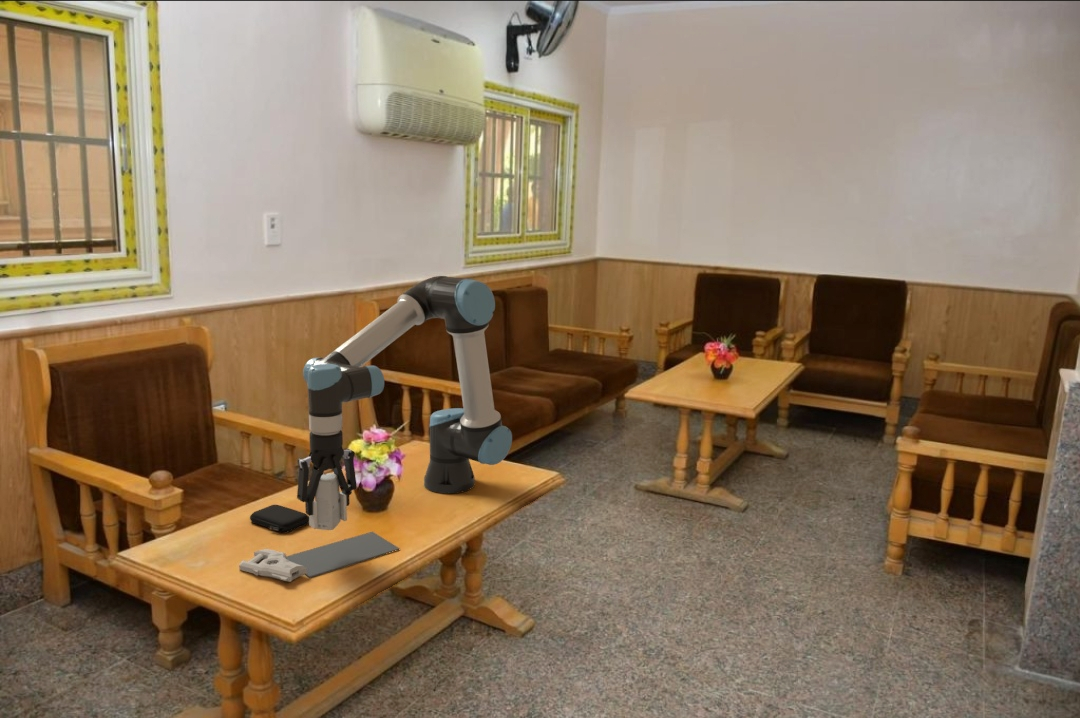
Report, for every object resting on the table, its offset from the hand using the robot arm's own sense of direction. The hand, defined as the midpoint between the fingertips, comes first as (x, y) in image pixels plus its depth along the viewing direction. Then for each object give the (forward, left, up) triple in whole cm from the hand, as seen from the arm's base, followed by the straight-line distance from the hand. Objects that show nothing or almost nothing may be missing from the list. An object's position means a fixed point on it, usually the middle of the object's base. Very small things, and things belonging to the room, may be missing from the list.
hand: (328, 522), depth 200 cm
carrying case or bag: (+1, -26, -9) cm, 28 cm away
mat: (-3, +1, -9) cm, 9 cm away
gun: (+13, -1, -9) cm, 16 cm away
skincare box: (0, 0, -1) cm, 1 cm away
